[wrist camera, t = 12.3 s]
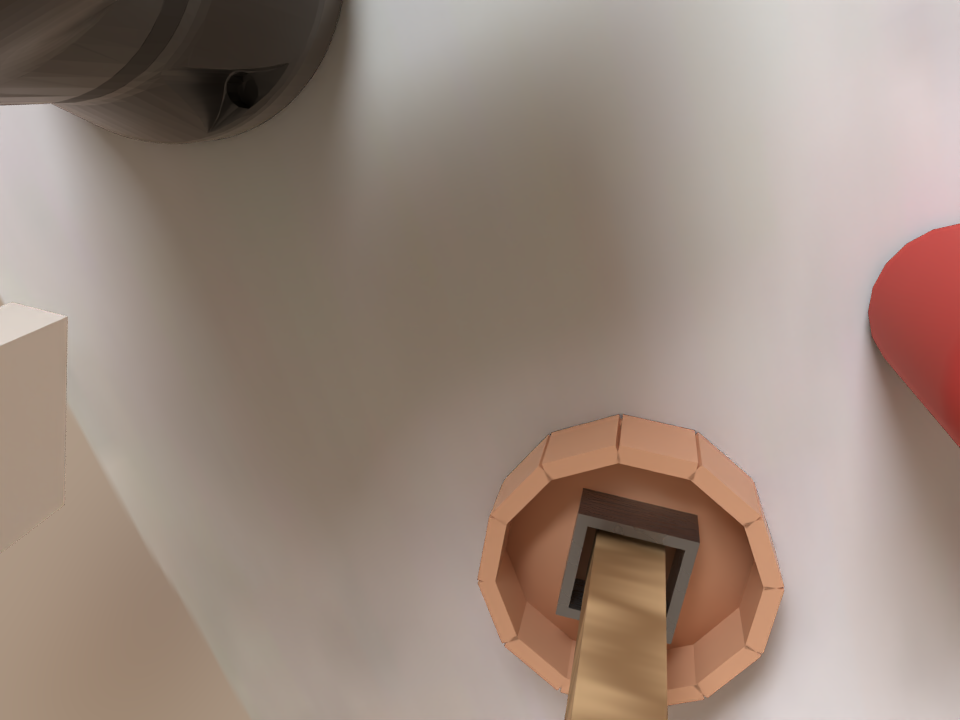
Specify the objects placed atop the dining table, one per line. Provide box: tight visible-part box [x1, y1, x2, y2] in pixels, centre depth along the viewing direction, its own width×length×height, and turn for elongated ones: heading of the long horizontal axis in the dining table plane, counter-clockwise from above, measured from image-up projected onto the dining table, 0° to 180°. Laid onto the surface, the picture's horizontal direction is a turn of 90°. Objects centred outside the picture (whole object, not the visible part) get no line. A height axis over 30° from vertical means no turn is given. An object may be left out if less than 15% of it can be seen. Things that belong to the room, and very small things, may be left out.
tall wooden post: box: [565, 529, 668, 720], centre depth 33 cm, size 3×3×14 cm
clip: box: [555, 488, 700, 644], centre depth 38 cm, size 5×5×2 cm
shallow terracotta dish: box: [477, 414, 784, 706], centre depth 38 cm, size 13×13×4 cm
